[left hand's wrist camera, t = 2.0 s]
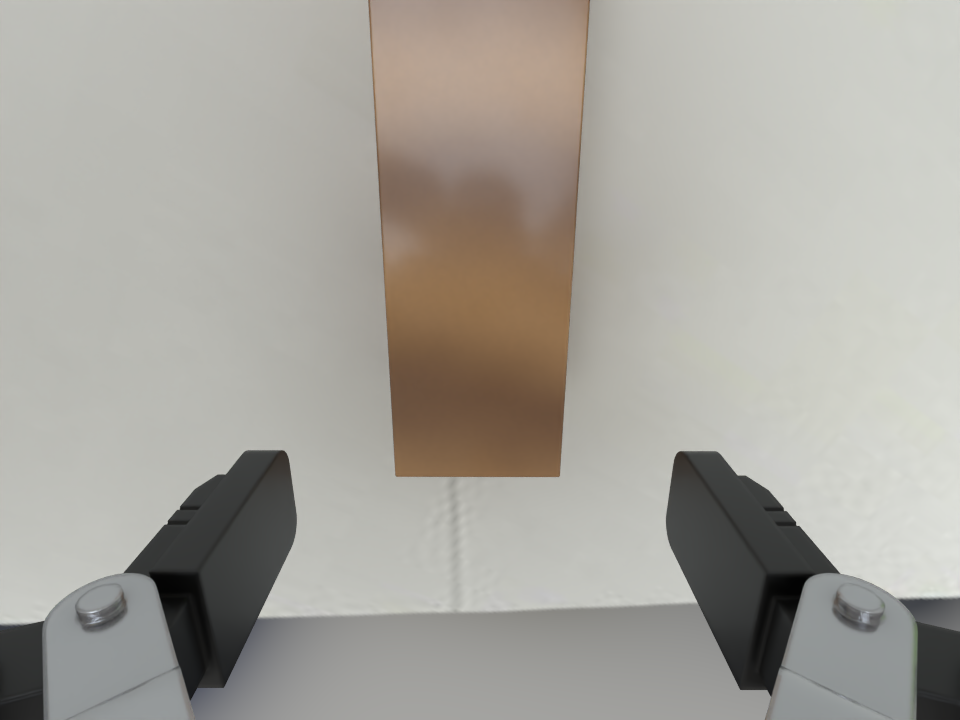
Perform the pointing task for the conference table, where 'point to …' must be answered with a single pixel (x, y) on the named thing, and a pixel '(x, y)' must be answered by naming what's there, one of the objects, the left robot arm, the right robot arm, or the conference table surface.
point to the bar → (478, 226)
